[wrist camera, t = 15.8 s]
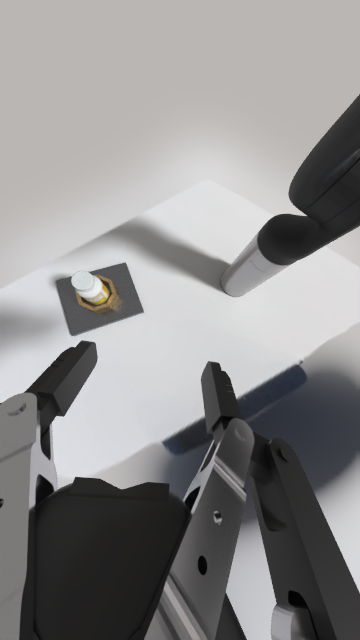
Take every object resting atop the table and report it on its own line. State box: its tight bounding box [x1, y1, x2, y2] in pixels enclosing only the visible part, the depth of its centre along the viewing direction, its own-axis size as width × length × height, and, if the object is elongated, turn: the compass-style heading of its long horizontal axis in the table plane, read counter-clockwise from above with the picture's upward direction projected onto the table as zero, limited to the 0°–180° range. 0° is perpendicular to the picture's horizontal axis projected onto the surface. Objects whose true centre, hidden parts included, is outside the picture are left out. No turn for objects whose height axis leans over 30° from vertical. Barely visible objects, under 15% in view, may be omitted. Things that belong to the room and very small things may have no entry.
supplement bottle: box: [71, 271, 111, 306], centre depth 33 cm, size 5×5×10 cm
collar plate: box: [56, 263, 144, 336], centre depth 37 cm, size 18×15×4 cm
